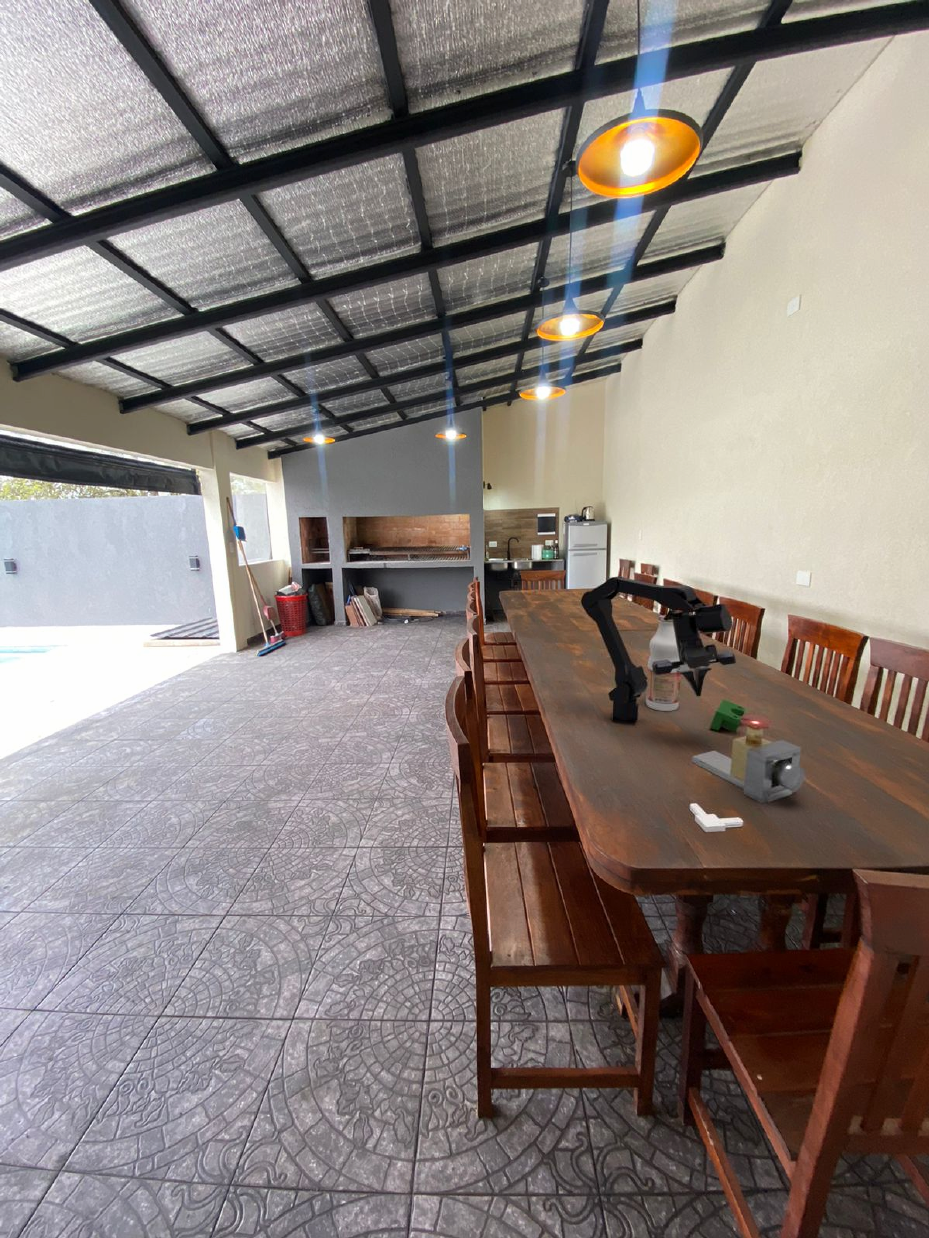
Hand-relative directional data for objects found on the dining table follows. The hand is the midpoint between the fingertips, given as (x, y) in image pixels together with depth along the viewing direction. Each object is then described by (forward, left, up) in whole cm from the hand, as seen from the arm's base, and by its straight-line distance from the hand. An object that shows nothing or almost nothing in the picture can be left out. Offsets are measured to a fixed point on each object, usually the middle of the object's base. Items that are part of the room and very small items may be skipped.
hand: (698, 696), depth 126 cm
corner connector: (+2, -36, -13) cm, 38 cm away
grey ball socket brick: (+9, -18, -12) cm, 23 cm away
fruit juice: (-8, +24, -12) cm, 28 cm away
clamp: (+9, +14, -13) cm, 20 cm away
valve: (+11, -20, -11) cm, 25 cm away
